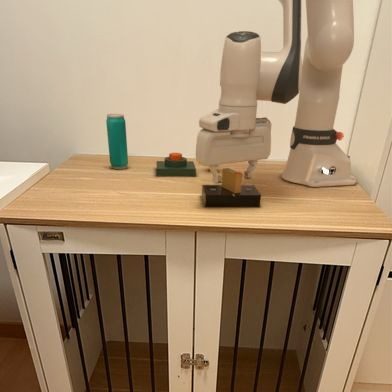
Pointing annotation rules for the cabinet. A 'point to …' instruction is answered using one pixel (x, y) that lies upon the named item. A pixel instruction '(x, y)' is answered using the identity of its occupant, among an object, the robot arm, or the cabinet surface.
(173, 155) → the button
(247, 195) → the panel
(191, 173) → the button block
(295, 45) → the robot arm
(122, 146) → the beverage can
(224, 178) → the tan rectangular block
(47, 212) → the cabinet surface
